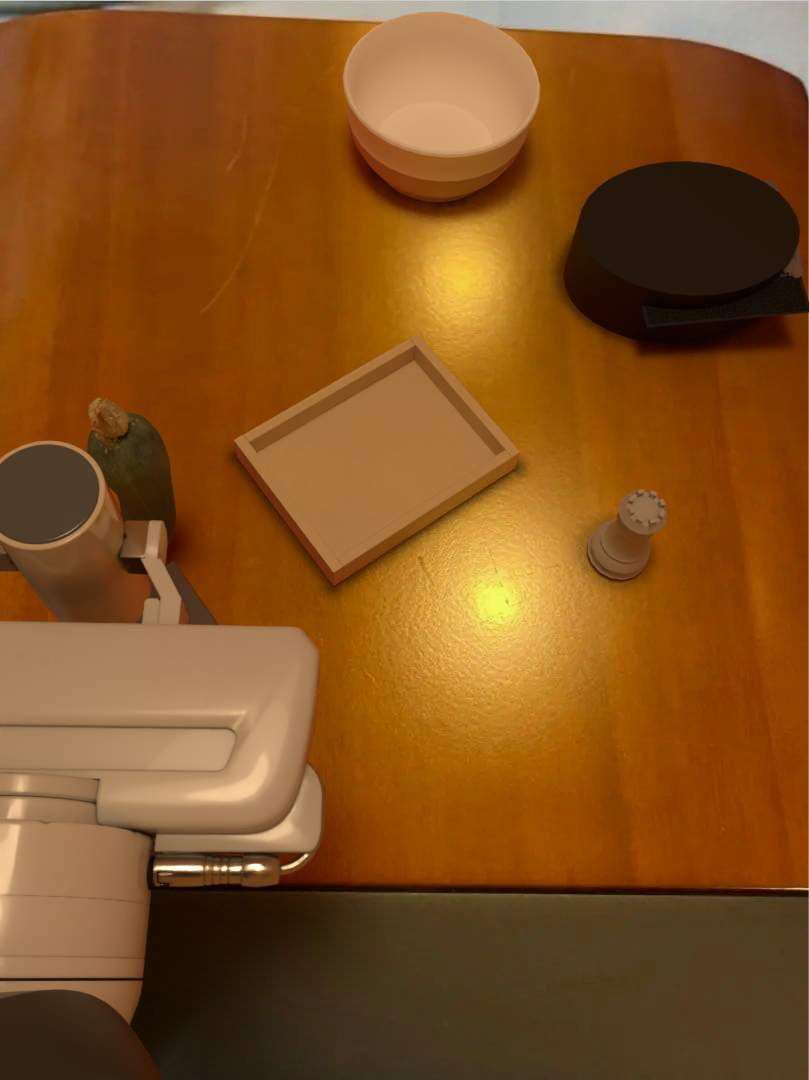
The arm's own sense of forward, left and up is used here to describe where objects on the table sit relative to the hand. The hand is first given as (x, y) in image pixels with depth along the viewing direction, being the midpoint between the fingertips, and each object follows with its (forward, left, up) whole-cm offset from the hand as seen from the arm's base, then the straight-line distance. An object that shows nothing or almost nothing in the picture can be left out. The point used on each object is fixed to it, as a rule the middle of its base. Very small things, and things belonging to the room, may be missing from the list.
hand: (73, 523), depth 40 cm
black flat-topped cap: (+51, +7, -29) cm, 59 cm away
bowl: (+43, +29, -29) cm, 60 cm away
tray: (+21, +7, -29) cm, 36 cm away
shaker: (-1, -1, -5) cm, 6 cm away
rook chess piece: (+31, -9, -29) cm, 44 cm away
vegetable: (+5, +11, -29) cm, 31 cm away
